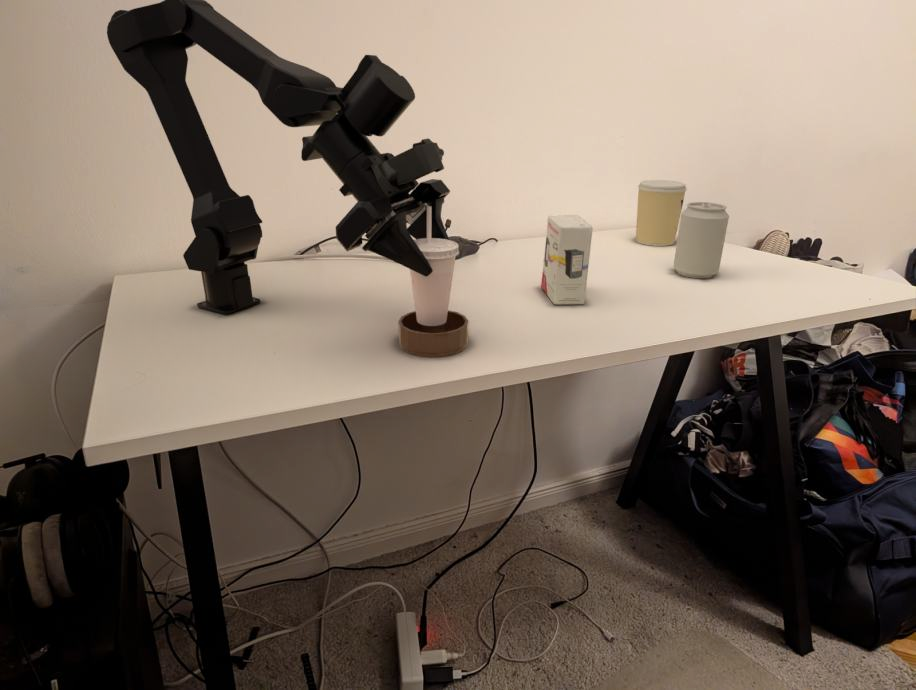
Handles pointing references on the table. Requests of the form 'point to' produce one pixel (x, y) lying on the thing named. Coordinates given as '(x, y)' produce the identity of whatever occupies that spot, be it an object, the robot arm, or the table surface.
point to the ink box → (566, 259)
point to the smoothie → (434, 278)
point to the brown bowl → (433, 335)
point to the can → (701, 239)
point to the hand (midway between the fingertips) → (441, 266)
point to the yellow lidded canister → (659, 211)
